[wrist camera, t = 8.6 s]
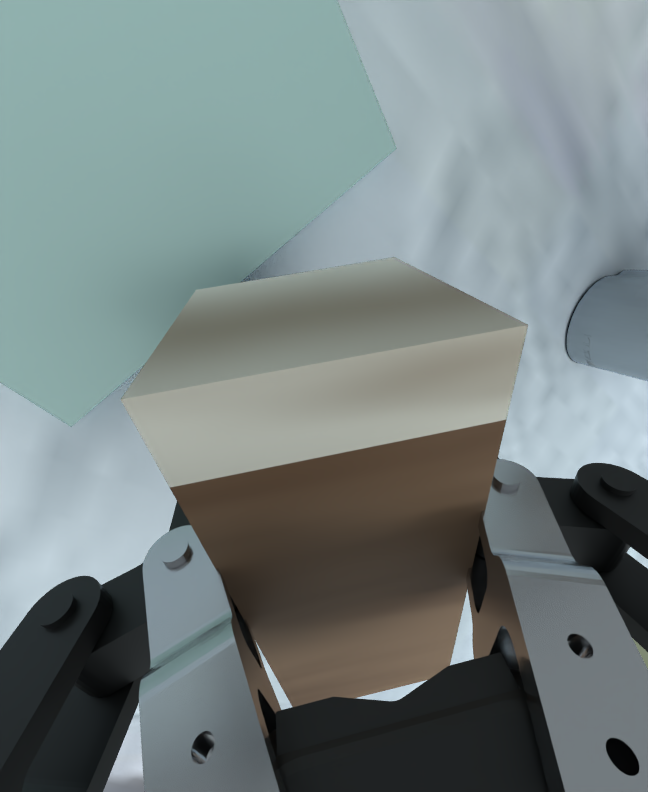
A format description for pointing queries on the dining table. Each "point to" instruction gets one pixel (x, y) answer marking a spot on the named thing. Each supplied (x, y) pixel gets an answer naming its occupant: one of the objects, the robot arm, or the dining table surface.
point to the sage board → (159, 168)
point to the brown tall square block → (335, 460)
